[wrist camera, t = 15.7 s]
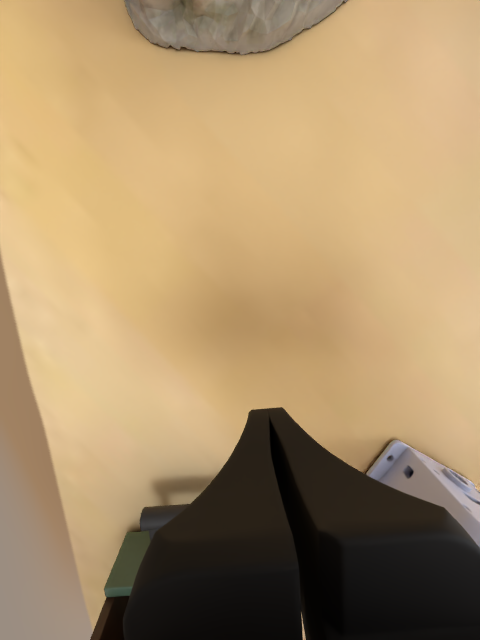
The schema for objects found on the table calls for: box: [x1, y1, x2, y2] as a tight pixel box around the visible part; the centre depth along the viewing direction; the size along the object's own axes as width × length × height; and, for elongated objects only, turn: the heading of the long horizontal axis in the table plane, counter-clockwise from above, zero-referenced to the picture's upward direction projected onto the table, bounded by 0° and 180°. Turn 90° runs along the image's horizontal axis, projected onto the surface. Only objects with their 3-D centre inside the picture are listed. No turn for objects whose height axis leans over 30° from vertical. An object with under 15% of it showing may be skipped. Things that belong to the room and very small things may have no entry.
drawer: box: [104, 504, 190, 597], centre depth 22 cm, size 18×12×4 cm
